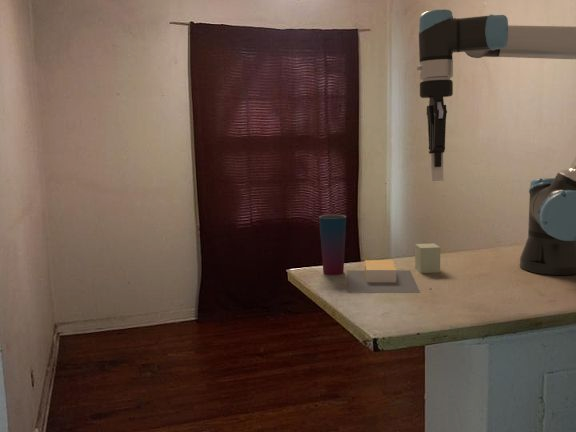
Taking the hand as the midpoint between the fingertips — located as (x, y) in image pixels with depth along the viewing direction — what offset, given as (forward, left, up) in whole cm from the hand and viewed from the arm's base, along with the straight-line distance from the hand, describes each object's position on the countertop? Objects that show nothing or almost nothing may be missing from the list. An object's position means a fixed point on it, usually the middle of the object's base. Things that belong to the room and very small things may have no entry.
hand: (436, 180), depth 142 cm
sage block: (+1, -5, -24) cm, 24 cm away
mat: (+14, +6, -24) cm, 28 cm away
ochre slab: (+14, +7, -22) cm, 27 cm away
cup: (+25, -3, -24) cm, 35 cm away
